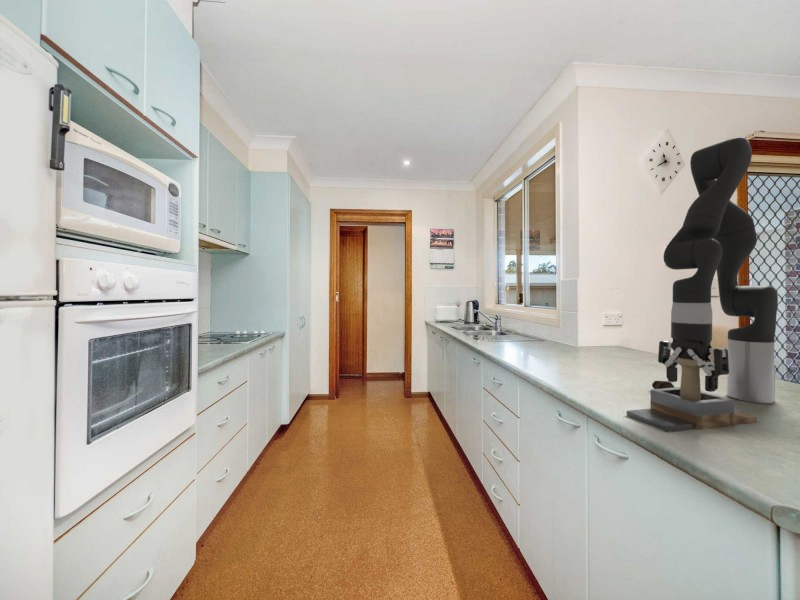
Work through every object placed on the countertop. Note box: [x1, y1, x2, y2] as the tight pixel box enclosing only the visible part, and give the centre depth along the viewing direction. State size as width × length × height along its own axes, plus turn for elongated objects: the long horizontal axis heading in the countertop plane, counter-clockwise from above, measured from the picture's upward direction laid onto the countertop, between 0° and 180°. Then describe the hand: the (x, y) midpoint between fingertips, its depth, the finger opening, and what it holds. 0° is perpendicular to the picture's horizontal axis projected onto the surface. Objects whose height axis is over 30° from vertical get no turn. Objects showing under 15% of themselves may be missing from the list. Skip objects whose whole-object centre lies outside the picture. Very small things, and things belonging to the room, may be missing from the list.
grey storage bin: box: [626, 386, 736, 433], centre depth 78 cm, size 19×11×6 cm, turn 101°
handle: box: [678, 357, 702, 401], centre depth 79 cm, size 5×6×15 cm
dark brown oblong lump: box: [651, 380, 676, 389], centre depth 94 cm, size 6×5×15 cm
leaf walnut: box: [649, 400, 758, 431], centre depth 80 cm, size 19×11×3 cm, turn 101°
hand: (690, 386), depth 79 cm, fingers open, 8 cm apart
